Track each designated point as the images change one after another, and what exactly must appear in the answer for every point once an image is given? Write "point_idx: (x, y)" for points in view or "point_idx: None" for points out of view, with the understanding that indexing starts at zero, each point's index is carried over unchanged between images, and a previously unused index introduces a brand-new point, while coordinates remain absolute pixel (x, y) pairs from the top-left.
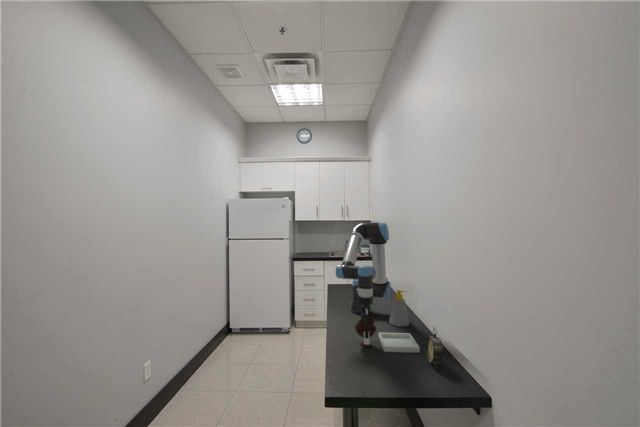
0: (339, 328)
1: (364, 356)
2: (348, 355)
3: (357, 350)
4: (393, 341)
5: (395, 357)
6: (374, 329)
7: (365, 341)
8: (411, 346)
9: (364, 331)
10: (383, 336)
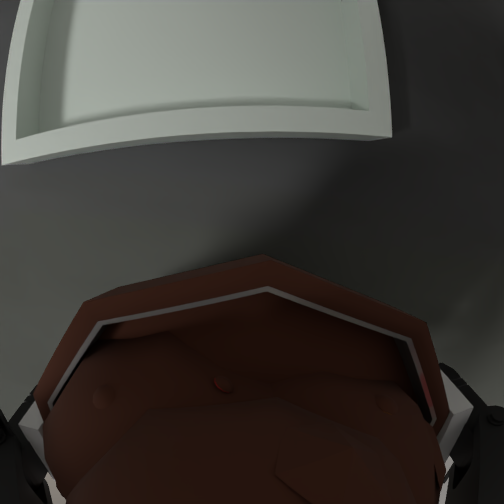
0: None
1: (433, 325)
2: None
3: None
4: (136, 14)
5: (445, 77)
6: (415, 325)
7: None
8: None
9: (442, 456)
10: (36, 111)
